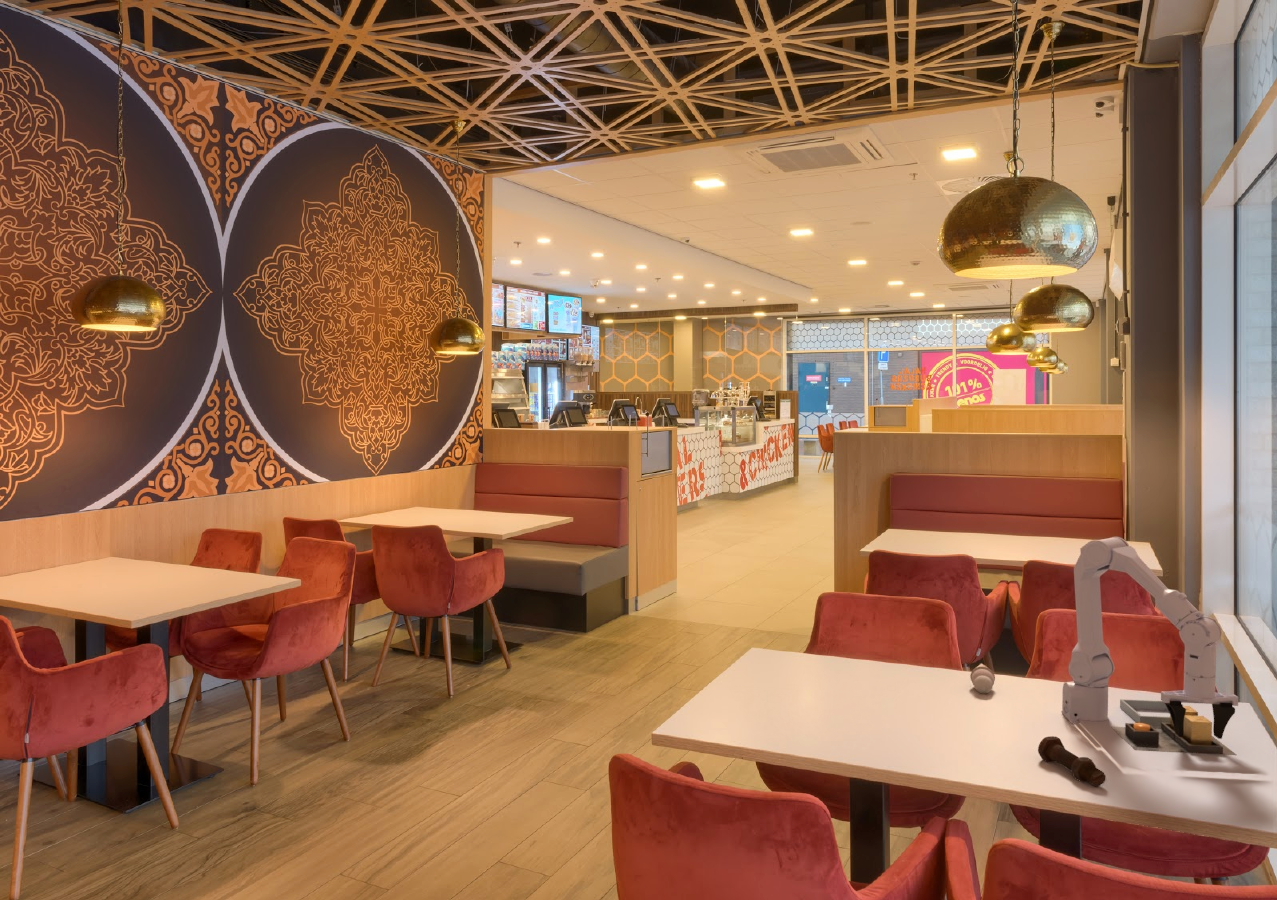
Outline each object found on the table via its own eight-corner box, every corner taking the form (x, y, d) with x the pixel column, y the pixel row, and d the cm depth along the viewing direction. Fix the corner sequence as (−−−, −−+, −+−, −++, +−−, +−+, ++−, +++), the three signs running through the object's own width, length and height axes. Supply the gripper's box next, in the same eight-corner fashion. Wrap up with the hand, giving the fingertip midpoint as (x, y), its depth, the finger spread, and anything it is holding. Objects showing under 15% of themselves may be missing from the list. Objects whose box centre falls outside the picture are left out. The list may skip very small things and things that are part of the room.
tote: (1139, 728, 202) (1140, 716, 202) (1119, 711, 214) (1120, 699, 214) (1196, 731, 201) (1196, 718, 200) (1172, 713, 212) (1173, 701, 212)
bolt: (1095, 798, 172) (1044, 765, 186) (1115, 783, 172) (1063, 751, 187) (1084, 774, 170) (1033, 743, 185) (1103, 760, 171) (1052, 730, 186)
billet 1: (1177, 737, 194) (1178, 711, 194) (1169, 731, 198) (1170, 705, 198) (1197, 738, 194) (1197, 712, 193) (1189, 732, 198) (1189, 706, 197)
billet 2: (1191, 748, 188) (1191, 721, 188) (1182, 741, 192) (1183, 715, 192) (1211, 749, 187) (1211, 722, 187) (1202, 742, 191) (1203, 715, 191)
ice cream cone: (982, 677, 241) (985, 703, 227) (964, 663, 242) (965, 688, 228) (998, 663, 239) (1001, 688, 225) (979, 648, 240) (982, 673, 226)
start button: (1136, 738, 193) (1137, 727, 193) (1131, 733, 196) (1131, 722, 196) (1152, 739, 192) (1152, 728, 192) (1146, 734, 195) (1146, 723, 195)
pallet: (1134, 754, 188) (1135, 738, 188) (1110, 730, 202) (1110, 715, 201) (1236, 759, 185) (1237, 743, 184) (1205, 734, 198) (1205, 719, 198)
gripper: (1171, 678, 185) (1170, 741, 186) (1246, 681, 183) (1245, 744, 184) (1157, 668, 192) (1156, 729, 193) (1229, 671, 190) (1228, 732, 191)
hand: (1198, 736), depth 189 cm, fingers open, 7 cm apart
